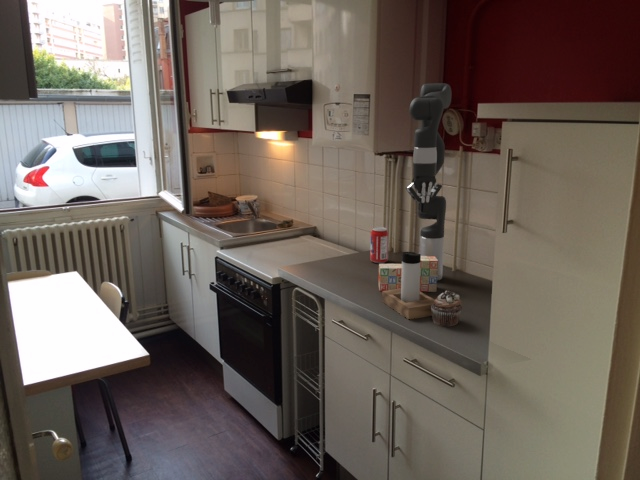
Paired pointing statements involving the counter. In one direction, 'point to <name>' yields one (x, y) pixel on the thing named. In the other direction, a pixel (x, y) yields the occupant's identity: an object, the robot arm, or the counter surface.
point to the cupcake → (446, 309)
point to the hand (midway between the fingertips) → (423, 213)
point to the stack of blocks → (393, 272)
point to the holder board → (408, 304)
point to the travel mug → (410, 277)
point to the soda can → (379, 245)
